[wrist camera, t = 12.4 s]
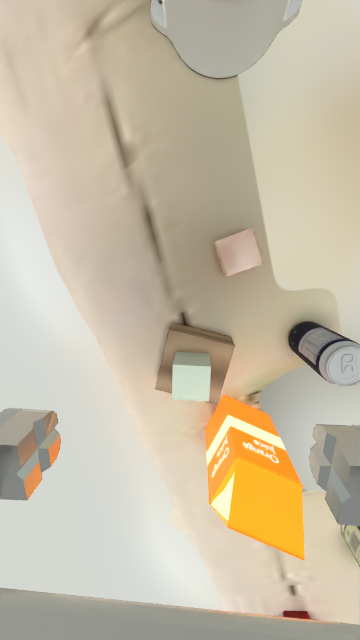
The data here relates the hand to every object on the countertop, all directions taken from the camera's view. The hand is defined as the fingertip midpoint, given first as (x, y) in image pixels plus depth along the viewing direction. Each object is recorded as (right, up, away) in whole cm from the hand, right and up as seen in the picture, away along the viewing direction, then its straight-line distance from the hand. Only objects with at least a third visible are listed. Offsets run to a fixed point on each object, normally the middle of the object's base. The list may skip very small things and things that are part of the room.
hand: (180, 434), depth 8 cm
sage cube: (+2, -4, +30) cm, 30 cm away
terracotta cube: (+8, +14, +30) cm, 34 cm away
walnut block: (+2, -3, +35) cm, 35 cm away
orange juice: (+10, -15, +37) cm, 41 cm away
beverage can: (+20, +1, +32) cm, 38 cm away
